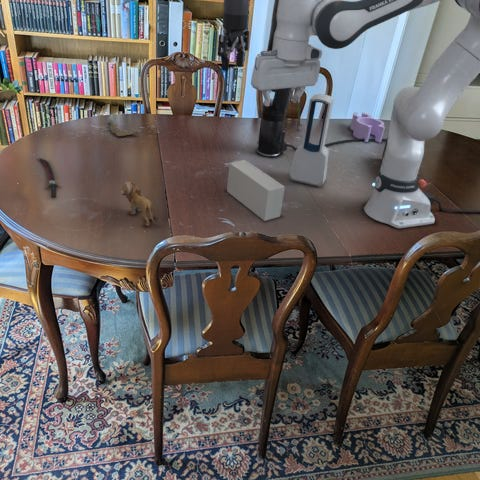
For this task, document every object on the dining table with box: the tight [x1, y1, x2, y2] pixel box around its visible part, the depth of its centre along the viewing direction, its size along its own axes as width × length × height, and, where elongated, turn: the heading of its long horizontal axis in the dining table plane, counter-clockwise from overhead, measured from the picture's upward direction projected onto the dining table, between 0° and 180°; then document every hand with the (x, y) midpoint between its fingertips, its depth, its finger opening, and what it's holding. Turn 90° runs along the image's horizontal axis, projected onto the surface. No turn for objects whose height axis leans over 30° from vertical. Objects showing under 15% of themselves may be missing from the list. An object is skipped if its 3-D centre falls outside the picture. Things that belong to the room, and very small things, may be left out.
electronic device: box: [288, 93, 335, 188], centre depth 159 cm, size 12×8×30 cm, turn 71°
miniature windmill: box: [285, 87, 301, 131], centre depth 208 cm, size 9×8×30 cm
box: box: [226, 159, 286, 222], centre depth 147 cm, size 21×6×10 cm, turn 34°
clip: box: [349, 112, 386, 143], centre depth 214 cm, size 20×12×7 cm, turn 11°
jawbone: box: [108, 119, 142, 137], centre depth 191 cm, size 9×20×2 cm, turn 50°
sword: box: [40, 158, 59, 198], centre depth 151 cm, size 31×3×1 cm, turn 26°
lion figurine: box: [119, 181, 159, 227], centre depth 134 cm, size 15×5×9 cm, turn 50°
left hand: (232, 68), depth 147 cm, fingers open, 8 cm apart
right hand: (281, 104), depth 126 cm, fingers open, 8 cm apart
